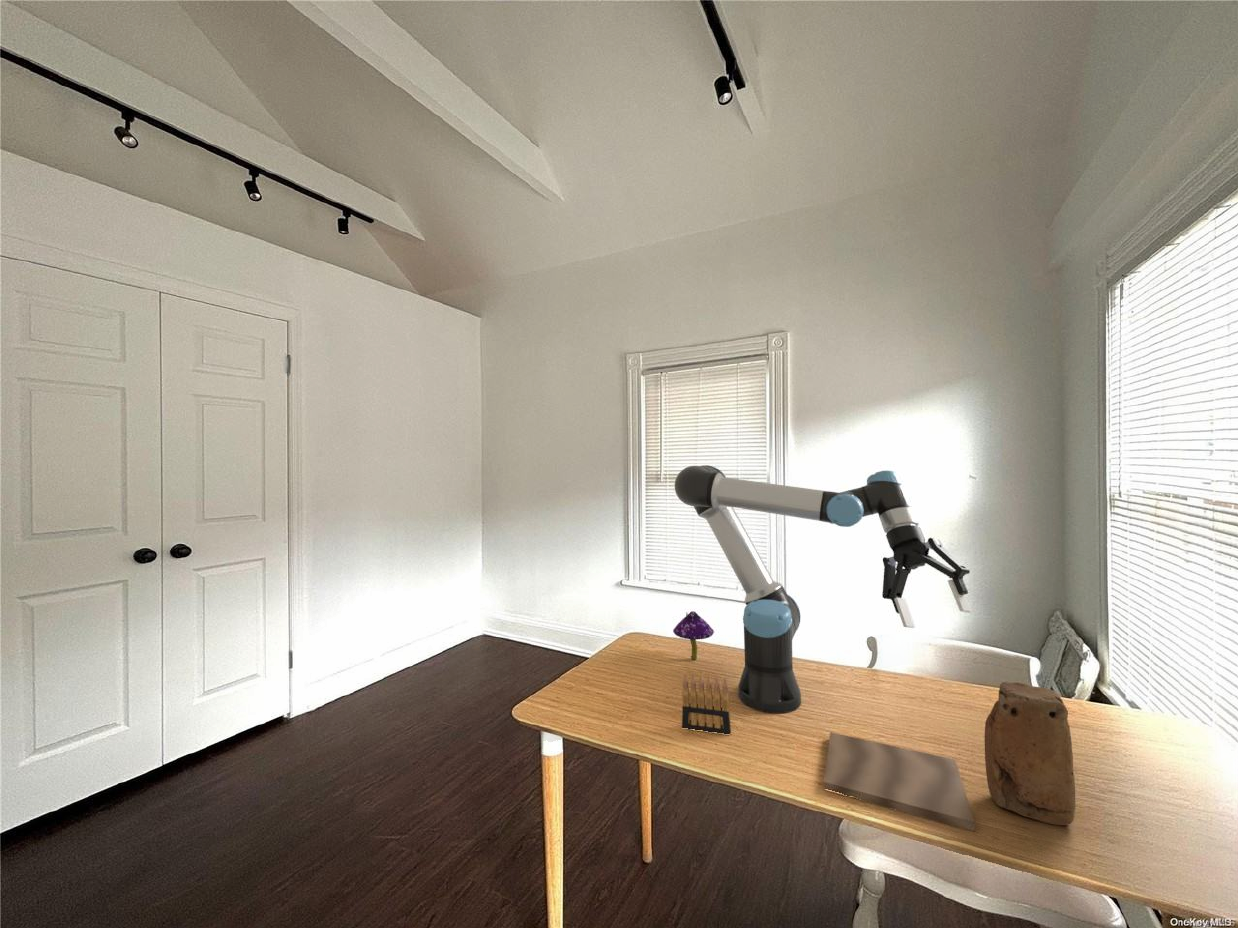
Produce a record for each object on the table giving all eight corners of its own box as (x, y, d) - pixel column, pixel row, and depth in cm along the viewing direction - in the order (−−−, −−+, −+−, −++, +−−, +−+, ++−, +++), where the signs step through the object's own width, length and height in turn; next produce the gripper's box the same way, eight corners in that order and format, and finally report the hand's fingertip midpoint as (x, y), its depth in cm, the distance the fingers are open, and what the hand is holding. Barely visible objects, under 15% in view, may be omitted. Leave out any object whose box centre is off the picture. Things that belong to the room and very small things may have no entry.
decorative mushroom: (670, 653, 150) (669, 606, 150) (708, 651, 151) (707, 604, 151) (677, 669, 137) (676, 618, 137) (719, 667, 138) (718, 616, 138)
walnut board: (823, 790, 85) (823, 781, 85) (830, 738, 100) (830, 731, 100) (974, 831, 74) (974, 821, 74) (955, 767, 90) (955, 759, 90)
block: (1061, 804, 80) (1057, 686, 80) (1081, 835, 73) (1076, 706, 74) (983, 786, 85) (979, 675, 85) (994, 813, 78) (990, 692, 78)
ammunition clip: (681, 728, 106) (680, 675, 106) (683, 724, 107) (681, 672, 108) (730, 735, 103) (729, 680, 103) (730, 731, 104) (729, 676, 105)
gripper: (961, 510, 105) (1006, 605, 94) (872, 550, 124) (900, 633, 113) (938, 505, 103) (981, 601, 91) (851, 547, 122) (877, 631, 110)
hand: (936, 619), depth 102 cm, fingers open, 13 cm apart
